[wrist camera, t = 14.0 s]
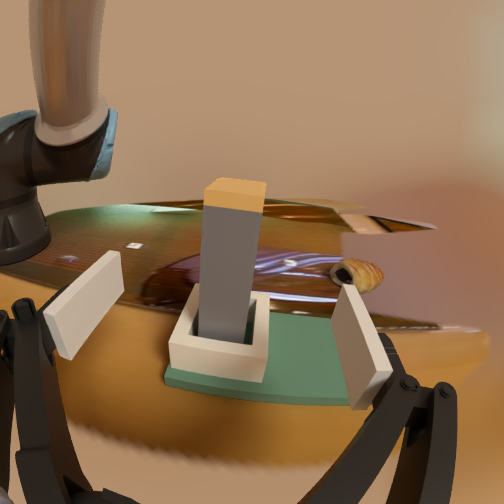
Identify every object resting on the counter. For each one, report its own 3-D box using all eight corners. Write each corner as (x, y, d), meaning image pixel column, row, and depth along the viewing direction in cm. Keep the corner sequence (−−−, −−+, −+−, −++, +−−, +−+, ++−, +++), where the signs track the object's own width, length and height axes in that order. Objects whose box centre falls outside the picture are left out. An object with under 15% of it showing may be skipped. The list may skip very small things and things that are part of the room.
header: (171, 367, 20) (168, 341, 19) (195, 307, 28) (195, 283, 27) (261, 382, 20) (267, 358, 19) (265, 317, 28) (269, 293, 27)
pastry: (362, 269, 45) (368, 249, 44) (390, 288, 40) (398, 267, 38) (324, 277, 41) (330, 254, 39) (353, 300, 36) (362, 277, 34)
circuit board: (165, 385, 20) (163, 376, 19) (194, 309, 30) (195, 300, 29) (392, 402, 19) (398, 395, 19) (366, 329, 29) (369, 321, 29)
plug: (198, 356, 22) (204, 189, 16) (209, 321, 26) (220, 176, 21) (240, 363, 22) (264, 196, 16) (245, 327, 26) (266, 182, 20)
